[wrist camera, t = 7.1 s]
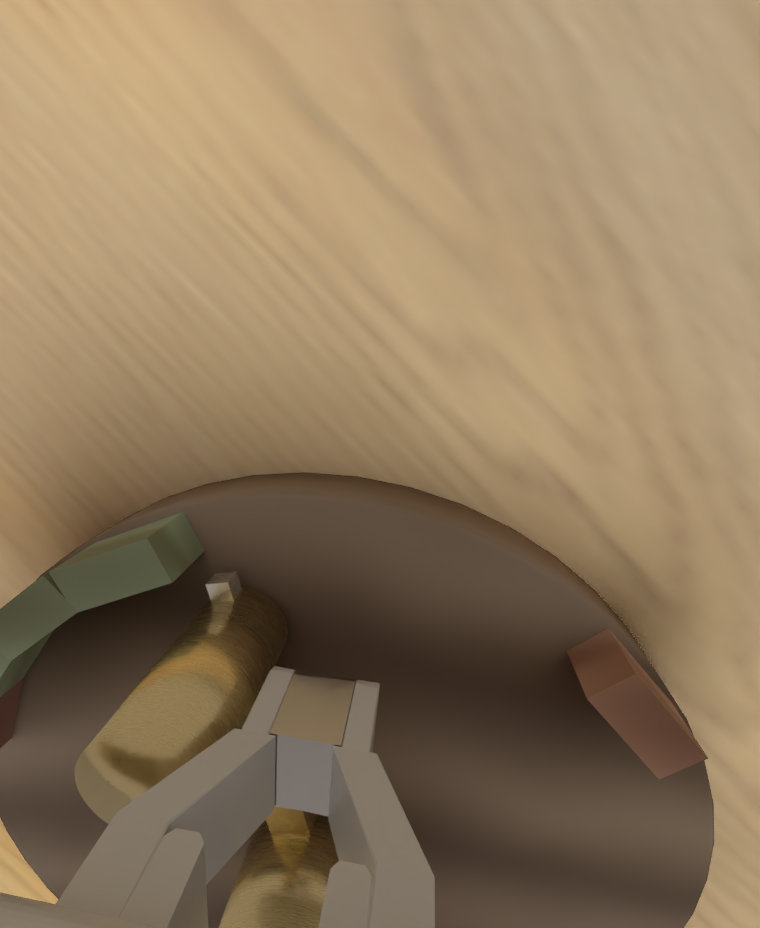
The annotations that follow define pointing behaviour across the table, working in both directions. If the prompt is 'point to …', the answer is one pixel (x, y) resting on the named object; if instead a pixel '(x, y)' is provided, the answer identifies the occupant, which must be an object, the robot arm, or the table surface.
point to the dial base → (385, 693)
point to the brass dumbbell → (199, 726)
